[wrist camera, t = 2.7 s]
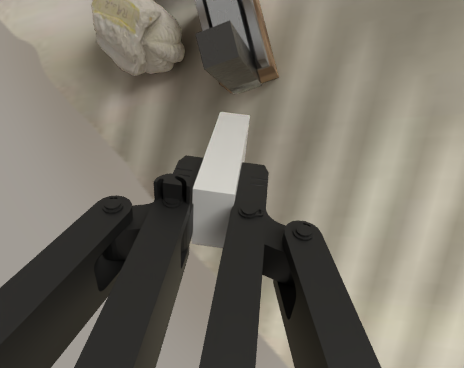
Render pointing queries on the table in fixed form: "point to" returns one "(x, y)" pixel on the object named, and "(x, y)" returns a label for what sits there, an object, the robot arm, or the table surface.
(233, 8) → the gray angle bracket
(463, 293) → the table surface
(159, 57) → the white rock
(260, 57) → the guide sleeve
